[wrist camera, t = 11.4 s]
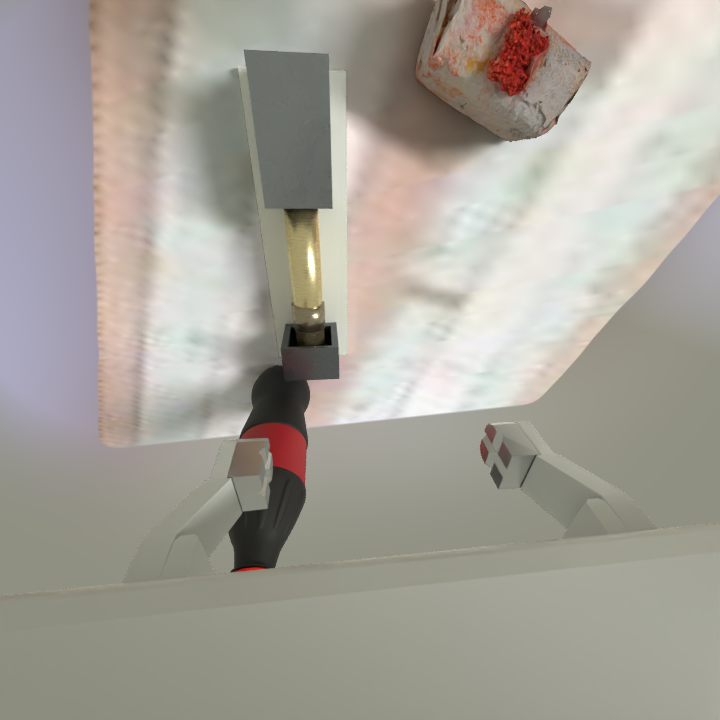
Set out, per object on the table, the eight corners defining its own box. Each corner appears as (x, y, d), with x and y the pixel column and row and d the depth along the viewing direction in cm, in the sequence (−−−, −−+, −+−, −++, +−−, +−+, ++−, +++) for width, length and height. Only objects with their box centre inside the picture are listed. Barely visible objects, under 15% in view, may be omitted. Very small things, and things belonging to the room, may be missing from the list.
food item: (398, 82, 32) (425, 61, 24) (440, -25, 28) (489, -94, 20) (504, 149, 36) (557, 151, 28) (553, 63, 32) (631, 36, 24)
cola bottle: (248, 393, 51) (180, 626, 26) (266, 352, 47) (207, 580, 23) (298, 409, 54) (279, 632, 29) (319, 371, 50) (318, 592, 26)
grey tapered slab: (257, 66, 30) (243, 49, 24) (327, 69, 30) (328, 54, 25) (272, 199, 36) (264, 208, 30) (330, 199, 36) (332, 208, 31)
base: (239, 67, 30) (237, 65, 29) (345, 72, 31) (346, 70, 30) (279, 354, 48) (279, 357, 47) (346, 352, 49) (347, 354, 48)
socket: (285, 323, 44) (280, 349, 39) (336, 322, 45) (338, 347, 39) (288, 353, 47) (284, 381, 41) (337, 351, 48) (339, 378, 42)
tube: (281, 190, 34) (277, 195, 31) (319, 191, 34) (319, 196, 31) (297, 347, 45) (296, 364, 42) (326, 346, 45) (327, 362, 42)
